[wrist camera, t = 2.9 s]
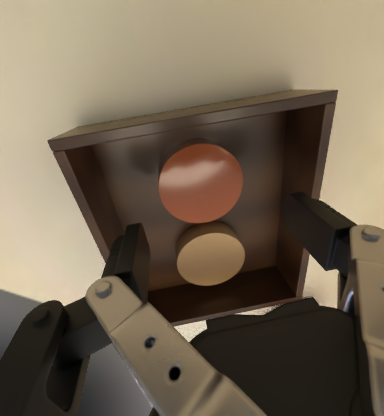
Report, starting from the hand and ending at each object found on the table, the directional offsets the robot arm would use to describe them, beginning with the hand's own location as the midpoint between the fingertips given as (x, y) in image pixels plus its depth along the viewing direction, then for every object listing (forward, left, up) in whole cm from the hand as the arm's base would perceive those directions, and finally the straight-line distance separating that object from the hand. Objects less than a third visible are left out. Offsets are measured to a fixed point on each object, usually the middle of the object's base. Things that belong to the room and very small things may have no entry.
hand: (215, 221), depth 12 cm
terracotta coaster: (0, 0, -6) cm, 6 cm away
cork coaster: (+7, 0, -6) cm, 9 cm away
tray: (+3, 0, -6) cm, 7 cm away
